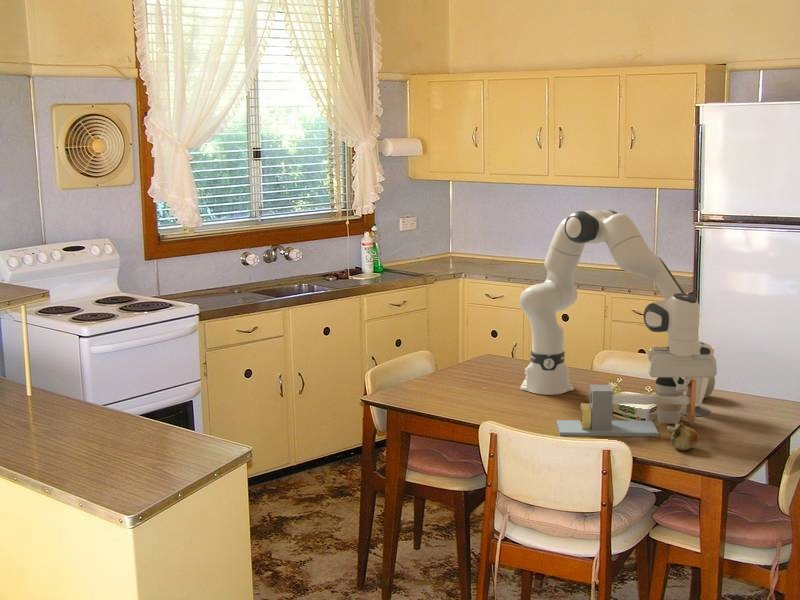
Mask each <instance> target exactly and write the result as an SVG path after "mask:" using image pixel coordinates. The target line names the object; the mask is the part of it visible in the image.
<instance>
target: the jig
mask: <svg viewBox="0 0 800 600" xmlns="http://www.w3.org/2000/svg"><path fill="white" fill-rule="evenodd" d="M613 394H614V393H613V389H612V387H611V385H610V384H589V405H590V407H591V423H590V429H582V428H581V425H580V419H579V420H578V419H577V420H576V419H574V420H573V419H568V420H567V419H566V420H565V419H561V420H560V419H557V420H556V421H555V422H556V423H555V424H556V426H557V429H558V433H559V436H573V437H574V436H576V437H577V436H579V437H581V436H582V437H598V436H599V437H660V432H659V431H658V429H657V427H656V426H655V424H654V422H653V421H652V420H613V404H612V397H613Z"/></svg>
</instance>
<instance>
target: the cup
mask: <svg viewBox="0 0 800 600" xmlns="http://www.w3.org/2000/svg"><path fill="white" fill-rule="evenodd" d="M711 347H712V348H713V349H714V350H715V348H714V347H713V346H711ZM714 354H715V353H714ZM714 354H713V356H714ZM681 378H682V379H684V382H685V381H686V380H685V377H681ZM693 378H694V380H695V381H696V398H695V417H706V416H710V415H711V414H712V410H710V409H709V408H707V407H704V406H701V405H702V404H703V400H704V399H705V398H704V395H705V392H706V388H707V385H708V380H709V378H699V377H693ZM687 386H688V385H687ZM683 395H687V391H684V393H683ZM686 408H687V405H682V408H681V413H680V415H682V416H686Z"/></svg>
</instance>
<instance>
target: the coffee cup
mask: <svg viewBox="0 0 800 600" xmlns="http://www.w3.org/2000/svg"><path fill="white" fill-rule="evenodd" d="M655 379H656V380H655V386H656V387H655V388H656V389H655V394H673V395H684V391H676V384H675V382H674V380H673V377H656V378H655ZM677 382H678V384H684V379H682V378H681V377H679V381H677ZM682 406H683V404H656V410H657V411H656V412H657V416H656V417H657V421H658V422H659V423H661V424H667V425H668V424H671V425H672V424H678V422H680V420H681V414H680V413H681V408H682Z"/></svg>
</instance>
